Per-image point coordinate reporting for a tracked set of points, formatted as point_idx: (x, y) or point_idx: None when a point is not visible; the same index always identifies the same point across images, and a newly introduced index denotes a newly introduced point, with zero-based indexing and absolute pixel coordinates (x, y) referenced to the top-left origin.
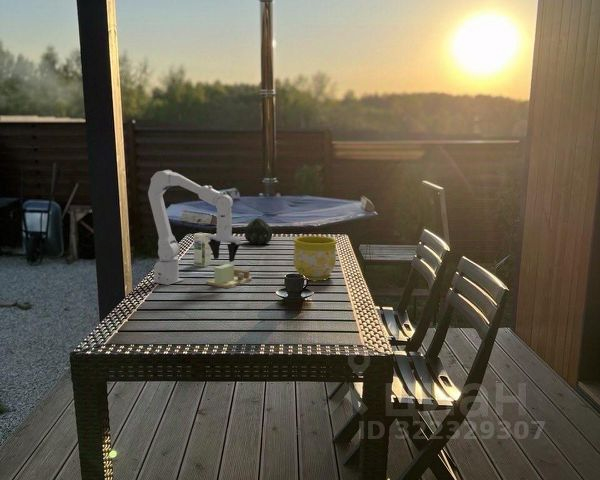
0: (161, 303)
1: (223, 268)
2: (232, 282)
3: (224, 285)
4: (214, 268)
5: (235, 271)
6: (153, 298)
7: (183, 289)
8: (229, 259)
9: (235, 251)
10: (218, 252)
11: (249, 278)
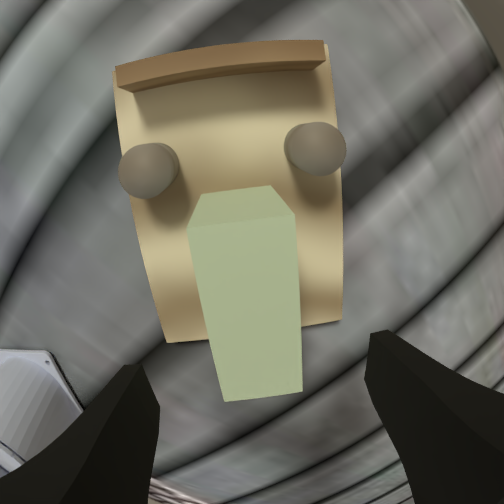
0: (270, 500)
1: (301, 370)
2: (319, 254)
3: (314, 321)
4: (224, 394)
5: (180, 75)
6: (214, 497)
7: (184, 431)
8: (376, 399)
9: (470, 403)
10: (119, 419)
11: (331, 75)
